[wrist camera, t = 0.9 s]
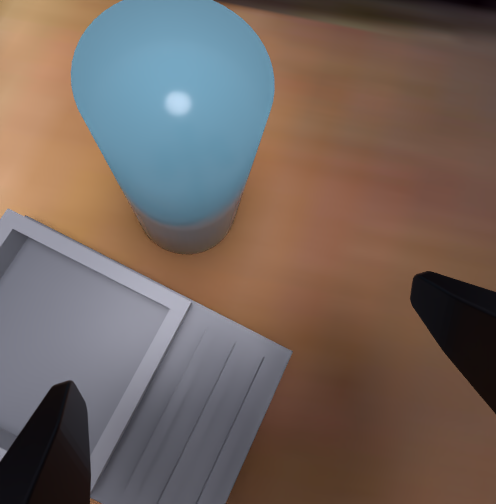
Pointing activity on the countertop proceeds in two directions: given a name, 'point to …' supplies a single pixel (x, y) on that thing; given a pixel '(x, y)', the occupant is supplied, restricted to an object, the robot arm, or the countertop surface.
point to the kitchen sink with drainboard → (129, 369)
